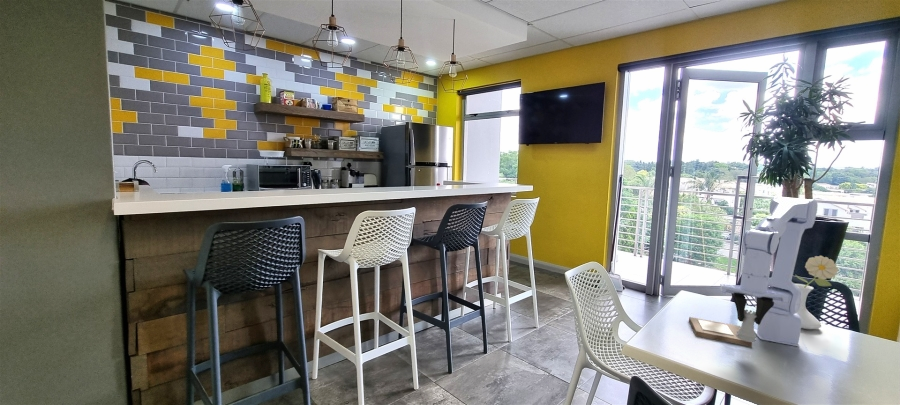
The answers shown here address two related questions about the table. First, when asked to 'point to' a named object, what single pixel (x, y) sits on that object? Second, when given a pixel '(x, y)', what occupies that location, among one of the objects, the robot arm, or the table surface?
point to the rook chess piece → (747, 327)
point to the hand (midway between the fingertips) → (748, 321)
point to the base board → (717, 331)
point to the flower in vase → (819, 269)
